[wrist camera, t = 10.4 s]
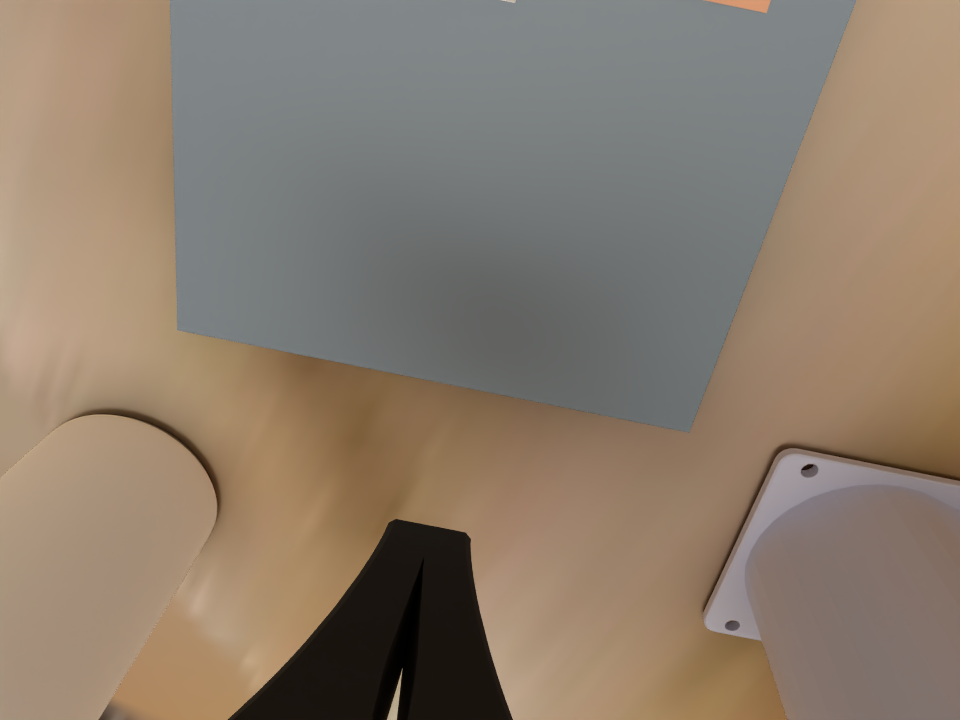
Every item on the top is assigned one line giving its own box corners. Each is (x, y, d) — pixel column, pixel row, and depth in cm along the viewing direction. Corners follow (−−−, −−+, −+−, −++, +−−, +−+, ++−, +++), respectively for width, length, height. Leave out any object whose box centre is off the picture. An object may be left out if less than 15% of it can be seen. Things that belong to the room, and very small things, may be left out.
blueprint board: (971, -329, 14) (990, -342, 14) (685, 422, 23) (689, 434, 22) (173, -498, 14) (156, -520, 13) (185, 321, 23) (175, 331, 22)
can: (63, 376, 24) (-320, 690, 13) (246, 457, 25) (22, 811, 14) (30, 508, 27) (-306, 851, 16) (194, 576, 28) (-23, 943, 17)
